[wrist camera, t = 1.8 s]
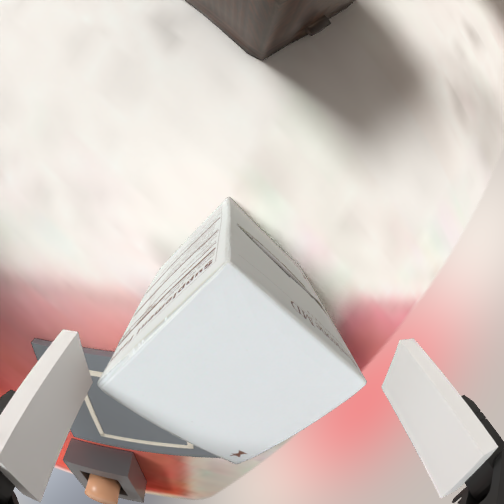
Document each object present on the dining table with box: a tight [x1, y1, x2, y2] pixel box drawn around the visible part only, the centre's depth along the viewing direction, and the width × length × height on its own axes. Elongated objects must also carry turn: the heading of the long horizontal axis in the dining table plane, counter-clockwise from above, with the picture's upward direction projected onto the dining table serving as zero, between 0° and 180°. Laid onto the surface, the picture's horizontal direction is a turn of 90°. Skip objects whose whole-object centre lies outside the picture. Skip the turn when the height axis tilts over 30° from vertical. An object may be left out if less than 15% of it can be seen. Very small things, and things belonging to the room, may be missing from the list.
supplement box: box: [97, 197, 367, 464], centre depth 15 cm, size 7×7×13 cm
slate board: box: [31, 338, 221, 458], centre depth 25 cm, size 20×15×1 cm
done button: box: [85, 474, 121, 504], centre depth 25 cm, size 4×4×4 cm
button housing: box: [63, 438, 147, 502], centre depth 27 cm, size 9×9×4 cm
